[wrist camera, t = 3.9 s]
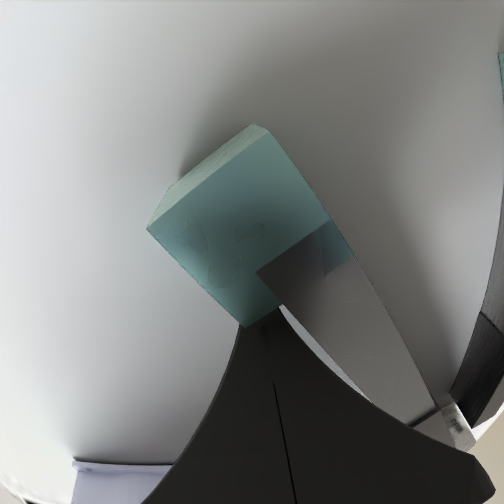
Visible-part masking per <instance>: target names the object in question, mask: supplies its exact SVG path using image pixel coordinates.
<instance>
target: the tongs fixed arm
mask: <svg viewBox="0 0 504 504" xmlns="http://www.w3.org/2000/svg"><path fill="white" fill-rule="evenodd" d="M498 55H499V61H500V68H501V76H502V84H503V95H504V53H498ZM450 395H451V396H452V398H453V399H454V401H455V403H456V404H457V406H458V407H459V409H460V411H461V412H462V414H463V416H464V417H465V419H466V421H467V422H468V424H469V426H470V427H471V429H473V428H475V427H476V426H478V425H480V424H481V423H483V422H485V421H486V420H488V419H490V418H491V417H493V416H494V415H495V414H496V413H497V411H498V410H499V408H500V407H501V405H502V403H503V402H504V191H503V202H502V211H501V219H500V226H499V233H498V239H497V245H496V250H495V256H494V261H493V266H492V270H491V275H490V279H489V283H488V287H487V291H486V295H485V299H484V303H483V306H482V310H481V312H480V313H479V316H478V319H477V323H476V326H475V329H474V332H473V335H472V338H471V341H470V344H469V347H468V350H467V352H466V355H465V358H464V360H463V363H462V365H461V368H460V371H459V373H458V375H457V378H456V380H455V383H454V385H453V387H452V390H451V392H450Z"/></svg>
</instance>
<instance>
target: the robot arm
mask: <svg viewBox="0 0 504 504" xmlns="http://www.w3.org/2000/svg"><path fill="white" fill-rule="evenodd" d="M72 467H73V468H74V469H75V470H77V471H78V472H77V477H76V482H75V487H74V492H73V497H72V502H71V504H483V503H484V502H485V501H487V500H488V499H490V498H491V497H492V496H493V495H494V493H495V491H496V489H495V487H494V486H493V484H492V481H491V480H490V477H489V475H488V474H487V472H486V471H485V470H484V468H483V467H482V466H481V464H480V463H479V461H478V460H477V459H476V458H475V456H474V455H471V454H469V453H466V452H464V451H461V450H459V449H456V448H453V447H451V446H449V445H446V444H444V443H442V442H440V441H437V440H435V439H433V438H431V437H429V436H427V435H425V434H423V433H421V432H419V431H417V430H415V429H413V428H411V427H410V426H408V425H406V424H404V423H403V422H401V421H400V420H398V419H396V418H395V417H393V416H391V415H390V414H388V413H387V412H385V411H383V410H382V409H380V408H379V407H377V406H376V405H374V404H373V403H371V402H370V401H369V400H367V399H366V398H365V397H363V396H362V395H360V394H359V393H358V392H357V391H355V390H354V389H353V388H352V387H350V386H349V385H348V384H347V383H345V382H344V381H343V380H342V379H341V378H340V377H338V376H337V375H336V374H335V373H334V372H333V371H332V370H331V369H330V368H329V367H328V366H327V365H326V364H324V363H323V362H322V361H321V360H320V359H319V358H318V357H317V356H316V354H315V353H314V352H313V351H312V350H311V349H310V348H309V347H308V346H307V345H306V343H305V342H304V341H303V340H302V339H301V338H300V337H299V335H298V334H297V333H296V332H295V330H294V329H293V328H292V327H291V325H290V324H289V323H288V321H287V320H286V318H285V317H284V315H283V314H282V312H281V310H280V309H279V307H278V308H276V309H275V310H273V311H271V312H270V313H268V314H267V315H265V316H264V317H262V318H261V319H259V320H258V321H256V322H254V323H253V324H251V325H250V326H248V327H246V328H244V327H243V326H242V325H241V324H240V323H239V328H238V332H237V336H236V340H235V344H234V347H233V350H232V353H231V356H230V359H229V362H228V365H227V368H226V370H225V372H224V375H223V377H222V380H221V382H220V385H219V387H218V390H217V392H216V394H215V396H214V398H213V400H212V402H211V404H210V406H209V408H208V410H207V412H206V414H205V416H204V418H203V420H202V421H201V423H200V425H199V427H198V428H197V430H196V432H195V433H194V435H193V436H192V438H191V440H190V441H189V443H188V445H187V446H186V448H185V449H184V451H183V452H182V454H181V455H180V456H179V458H178V459H177V460H176V462H175V463H174V464H173V465H163V466H140V465H113V464H99V463H88V462H79V461H73V462H72Z"/></svg>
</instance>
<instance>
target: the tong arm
mask: <svg viewBox="0 0 504 504" xmlns="http://www.w3.org/2000/svg"><path fill="white" fill-rule="evenodd" d="M146 230H147V231H148V232H149V233H150V234H151V235H152V236H153V237H154V238H155V239H156V240H157V241H158V242H159V243H160V244H161V245H162V246H163V247H164V248H165V250H166V251H167V252H168V253H169V254H170V255H171V256H172V257H173V258H174V259H175V260H176V261H177V262H178V263H179V264H180V265H181V266H182V267H183V268H184V269H185V270H186V271H187V272H188V273H189V274H190V275H191V276H192V277H193V278H194V279H195V280H196V281H197V282H198V283H199V284H200V285H201V286H202V287H203V288H204V289H205V290H206V291H207V292H208V293H209V294H210V295H211V296H212V297H213V298H214V299H215V300H216V301H217V302H218V303H219V304H220V305H221V306H222V307H223V308H224V309H225V310H226V311H227V312H228V313H230V314H231V315H232V316H233V317H234V318H235V319H236V320H237V321H238V322H239V323H240V324H241V325H242V326H243V327H244V328H246V327H248V326H250V325H251V324H253V323H254V322H256V321H258V320H259V319H261V318H262V317H264V316H265V315H267V314H268V313H270V312H271V311H273V310H275V309H276V308H278V307H279V306H281V305H282V304H283V305H284V306H285V307H286V308H287V309H288V310H289V311H290V312H291V314H292V315H293V316H294V317H295V318H296V319H297V320H298V321H299V322H300V324H301V325H302V326H303V327H304V328H305V329H306V330H307V331H308V332H309V333H310V335H311V336H312V337H313V338H314V339H315V340H316V341H317V342H318V343H319V345H320V346H321V347H322V348H323V349H324V350H325V351H326V352H327V353H328V354H329V356H330V357H331V358H332V359H333V360H334V361H335V362H336V363H337V364H338V365H339V367H340V368H341V369H342V370H343V371H344V372H345V373H346V374H347V375H348V376H349V378H350V379H351V380H352V381H353V382H354V383H355V384H356V385H357V386H358V387H359V388H360V390H361V391H362V392H363V393H364V394H365V395H366V396H367V397H368V398H369V399H370V400H371V402H372V403H373V404H374V405H376V406H377V407H379V408H380V409H382V410H383V411H385V412H387V413H388V414H390V415H391V416H393V417H395V418H396V419H398V420H400V421H401V422H403V423H404V424H406V425H408V426H410V427H411V428H413V429H415V430H417V431H419V432H421V433H423V434H425V435H427V436H429V437H431V438H433V439H435V440H437V441H440V442H442V443H444V444H446V445H449V446H451V447H453V448H456V449H459V450H461V451H464V452H467V451H468V450H470V449H471V448H472V447H473V446H474V444H475V443H476V440H475V438H474V437H473V435H472V433H471V431H470V430H469V428H468V426H467V425H466V423H465V421H464V420H463V418H462V416H461V415H460V413H459V411H458V410H457V408H456V406H455V405H454V404H450V405H447V406H445V407H443V408H441V409H439V407H438V405H437V403H436V402H435V400H434V398H433V397H432V395H431V393H430V392H429V390H428V388H427V387H426V385H425V383H424V381H423V379H422V377H421V375H420V372H419V370H418V368H417V366H416V364H415V362H414V360H413V359H412V357H411V355H410V353H409V351H408V349H407V347H406V345H405V343H404V341H403V339H402V337H401V335H400V334H399V332H398V330H397V328H396V326H395V324H394V322H393V321H392V319H391V317H390V315H389V313H388V312H387V310H386V308H385V306H384V304H383V303H382V301H381V299H380V297H379V296H378V294H377V292H376V290H375V289H374V287H373V285H372V284H371V282H370V280H369V278H368V277H367V275H366V273H365V272H364V270H363V268H362V267H361V265H360V263H359V262H358V260H357V259H356V257H355V255H354V254H353V252H352V250H351V249H350V247H349V246H348V244H347V242H346V241H345V239H344V238H343V236H342V234H341V233H340V231H339V230H338V228H337V227H336V225H335V224H334V222H333V220H332V219H331V217H330V216H329V214H328V213H327V211H326V210H325V208H324V207H323V205H322V204H321V202H320V201H319V199H318V198H317V196H316V195H315V193H314V192H313V191H312V189H311V188H310V186H309V185H308V183H307V182H306V180H305V179H304V177H303V176H302V175H301V173H300V172H299V170H298V169H297V168H296V166H295V165H294V163H293V162H292V161H291V159H290V158H289V156H288V155H287V154H286V152H285V151H284V149H283V148H282V147H281V145H280V144H279V143H278V141H277V140H276V139H275V137H274V136H273V135H272V133H271V132H270V131H269V130H267V129H265V128H262V127H260V126H258V125H256V124H254V123H251V124H250V125H249V126H247V127H246V128H245V129H243V130H242V131H241V132H239V133H238V134H236V135H235V136H234V137H232V138H231V139H230V140H229V141H227V142H226V143H225V144H223V145H222V146H221V147H219V148H218V149H217V150H215V151H214V152H213V153H212V154H210V155H209V156H208V157H207V158H205V159H204V160H203V161H202V162H200V163H199V164H198V165H197V166H195V167H194V168H193V169H192V170H190V171H189V172H188V173H187V174H186V175H184V176H183V177H182V178H181V179H180V180H178V181H177V182H176V183H175V184H174V185H172V186H171V187H170V188H169V190H168V191H167V193H166V195H165V196H164V198H163V200H162V202H161V203H160V205H159V207H158V208H157V210H156V212H155V214H154V215H153V217H152V219H151V221H150V223H149V224H148V226H147V228H146Z"/></svg>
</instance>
